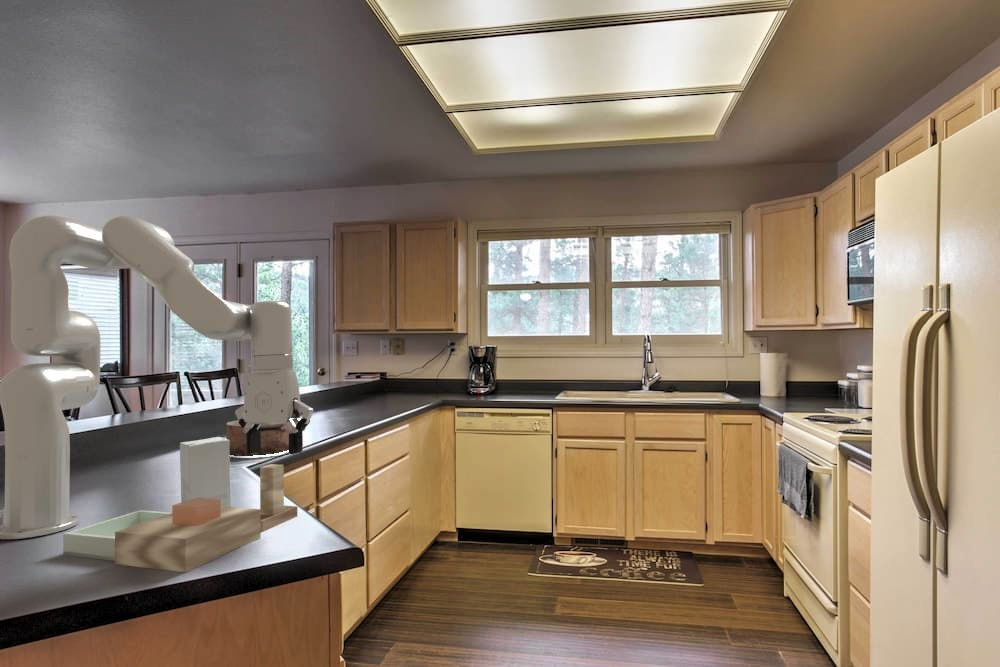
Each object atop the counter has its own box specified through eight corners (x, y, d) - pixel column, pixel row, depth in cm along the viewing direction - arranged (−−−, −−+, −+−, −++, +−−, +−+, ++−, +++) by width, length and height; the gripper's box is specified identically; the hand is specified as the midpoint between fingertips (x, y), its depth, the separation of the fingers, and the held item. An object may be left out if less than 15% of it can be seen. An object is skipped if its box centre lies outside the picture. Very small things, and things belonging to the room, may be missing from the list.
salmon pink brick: (172, 523, 91) (172, 505, 91) (197, 515, 95) (197, 497, 96) (196, 525, 89) (196, 507, 89) (220, 517, 94) (220, 499, 94)
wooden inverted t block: (244, 530, 103) (244, 470, 103) (280, 515, 112) (280, 460, 113) (262, 532, 102) (262, 471, 102) (297, 516, 111) (297, 461, 112)
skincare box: (220, 504, 122) (220, 436, 122) (231, 508, 117) (231, 438, 118) (178, 512, 115) (178, 440, 116) (188, 518, 111) (188, 443, 112)
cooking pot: (305, 456, 178) (305, 423, 179) (228, 464, 168) (228, 428, 168) (291, 444, 205) (291, 415, 205) (224, 450, 194) (224, 419, 195)
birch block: (114, 564, 87) (115, 531, 87) (197, 531, 102) (197, 504, 102) (185, 572, 83) (185, 538, 83) (260, 537, 98) (260, 509, 98)
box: (63, 555, 91) (63, 533, 91) (140, 528, 105) (140, 510, 105) (118, 561, 88) (118, 539, 88) (190, 533, 101) (190, 514, 101)
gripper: (221, 366, 107) (223, 455, 106) (297, 363, 102) (300, 457, 101) (249, 365, 114) (251, 448, 113) (321, 362, 109) (324, 449, 109)
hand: (274, 452), depth 107 cm, fingers open, 9 cm apart
